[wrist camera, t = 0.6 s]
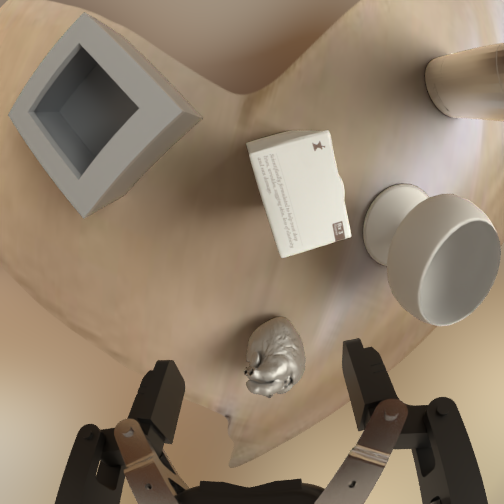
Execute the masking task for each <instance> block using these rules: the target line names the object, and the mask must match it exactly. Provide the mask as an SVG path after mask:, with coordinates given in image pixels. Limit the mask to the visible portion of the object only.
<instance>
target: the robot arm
mask: <svg viewBox="0 0 504 504" xmlns="http://www.w3.org/2000/svg"><path fill="white" fill-rule="evenodd" d="M425 82H426V87H427V90H428V93H429V95H430V97H431V99H432V101H433V103H434V104H435V106H436V107H437V108H438V109H439V110H440V111H441V112H442V113H444V114H445V115H447V116H449V117H453V118H470V119H483V120H494V121H504V43H500V44H494V45H489V46H483V47H479V48H474V49H470V50H465V51H461V52H457V53H453V54H449V55H445V56H441V57H438V58H435V59H433V60H431V61H430V62H429V63H428V65H427V68H426V72H425ZM342 368H343V374H344V378H345V382H346V385H347V389H348V393H349V397H350V401H351V404H352V408H353V412H354V416H355V420H356V424H357V428H358V431H362V430H364V431H363V433H362V435H361V437H360V439H359V440H358V442H357V444H356V446H355V447H354V448H353V449H352V450H351V451H350V453H349V454H348V456H347V457H346V459H345V460H344V462H343V464H342V465H341V467H340V468H339V470H338V471H337V473H336V474H335V476H334V477H333V479H332V480H331V481H330V483H329V484H328V486H327V487H326V488H325V489H324V488H322V487H319V486H316V485H312V484H306V483H302V481H301V479H293V480H283V481H274V482H271V483H267V484H263V485H259V486H255V487H250V488H248V487H242V486H238V485H233V484H229V483H225V482H210V481H200V486H197V487H193V488H189V487H188V486H187V484H186V483H185V482H184V481H183V480H182V479H181V478H180V476H179V475H178V473H177V471H176V470H175V468H174V466H173V465H172V463H171V462H170V460H169V458H168V456H167V454H166V453H165V451H164V450H163V445H164V443H167V444H172V443H173V438H174V434H175V430H176V425H177V421H178V416H179V413H180V409H181V404H182V400H183V396H184V392H185V382H184V379H183V377H182V375H181V374H180V372H179V370H178V368H177V366H176V364H175V362H174V361H173V360H158V361H157V362H156V364H155V367H154V370H150V371H149V372H148V373H147V374H146V375H145V376H144V377H143V379H142V382H141V384H140V388H139V390H138V394H137V395H136V397H135V400H134V403H133V406H132V408H131V411H130V413H129V416H128V418H127V419H124V420H122V421H120V422H119V423H118V424H117V425H116V427H115V428H110V429H103V430H100V429H99V428H98V427H97V426H96V425H94V424H87V425H85V426H83V427H82V428H81V429H80V430H79V432H78V434H77V437H76V439H75V442H74V445H73V448H72V450H71V453H70V456H69V459H68V462H67V465H66V468H65V471H64V474H63V477H62V480H61V484H60V487H59V491H58V494H57V497H56V501H55V504H119V503H120V498H121V493H122V488H123V483H124V479H125V477H126V479H127V481H128V483H129V486H130V488H131V490H132V492H133V494H134V496H135V498H136V500H137V502H138V504H364V502H365V501H366V499H367V498H368V496H369V494H370V492H371V491H372V489H373V487H374V486H375V484H376V482H377V480H378V479H379V477H380V475H381V473H382V471H383V469H384V468H385V465H386V463H387V462H388V459H389V457H390V454H391V452H392V450H393V449H412V453H413V458H414V462H415V466H416V470H417V476H418V480H419V486H420V491H421V496H422V502H423V504H488V502H487V497H486V493H485V489H484V485H483V481H482V477H481V474H480V471H479V467H478V464H477V460H476V457H475V454H474V451H473V448H472V445H471V442H470V439H469V437H468V434H467V431H466V428H465V426H464V423H463V421H462V418H461V416H460V413H459V411H458V408H457V406H456V404H455V403H454V401H453V400H451V399H449V398H446V397H439V398H436V399H434V400H433V401H431V402H430V404H429V405H421V406H411V405H407V404H405V403H403V402H402V401H400V400H399V398H398V397H397V395H396V393H395V390H394V388H393V385H392V383H391V380H390V378H389V375H388V373H387V371H386V368H385V366H384V364H383V361H382V359H381V356H380V354H379V353H378V352H377V351H376V350H375V349H374V348H372V347H368V348H363V345H362V343H361V340H360V339H359V338H357V339H352V340H348V341H343V355H342ZM100 460H101V461H100ZM99 461H100V465H99V468H98V464H99ZM97 468H98V472H97ZM96 472H97V475H96Z"/></svg>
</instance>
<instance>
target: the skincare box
mask: <svg viewBox="0 0 504 504" xmlns="http://www.w3.org/2000/svg"><path fill="white" fill-rule="evenodd" d="M246 146H247V149H248V152H249V157H250V161H251V165H252V168H253V172H254V175H255V179H256V182H257V186H258V189H259V192H260V196H261V199H262V202H263V205H264V208H265V211H266V214H267V218H268V221H269V224H270V227H271V230H272V233H273V237H274V240H275V243H276V246H277V249H278V252H279V254H280V257H281V258H285V257H288V256H292V255H295V254H298V253H302V252H305V251H308V250H311V249H314V248H318V247H321V246H324V245H327V244H330V243H333V242H336V241H340V240H343V239H347V238H350V237H351V236H352V235H351V230H350V225H349V220H348V216H347V211H346V205H345V200H344V196H345V190H344V185H343V181H342V179H341V177H340V176H339V173H338V169H337V164H336V160H335V156H334V151H333V145H332V139H331V134H330V132H329V131H328V130H324V131H313V130H290V131H286V132H283V133H279V134H275V135H271V136H268V137H264V138H261V139H257V140H254V141H251V142H247V143H246Z"/></svg>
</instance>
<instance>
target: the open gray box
mask: <svg viewBox="0 0 504 504" xmlns="http://www.w3.org/2000/svg"><path fill="white" fill-rule="evenodd" d="M8 116H9V117H10V119H11V120H12V122H13V124H14V125H15V127H16V128H17V130H18V132H19V133H20V135H21V136H22V138H23V139H24V141H25V142H26V144H27V145H28V147H29V148H30V150H31V151H32V153H33V154H34V155H35V157H36V158H37V160H38V161H39V163H40V164H41V165H42V167H43V168H44V169H45V171H46V172H47V173H48V175H49V176H50V177H51V179H52V180H53V181H54V183H55V184H56V185H57V187H58V188H59V189H60V190H61V192H62V193H63V194H64V196H65V197H66V198H67V199H68V201H69V202H70V203H71V204H72V205H73V207H74V208H75V209H76V210H77V211H78V213H79V214H80V215H81V216H82V217H83V219H84V218H86V217H88V216H89V215H91V214H93V213H94V212H96V211H98V210H99V209H101V208H103V207H105V206H106V205H108V204H110V203H112V202H113V201H115V200H117V199H119V198H121V197H122V196H124V195H125V194H126V193H127V192H128V191H129V189H130V188H131V187H132V186H133V185H134V184H135V183H136V182H137V181H138V180H139V179H140V178H141V177H142V176H143V175H144V174H145V172H146V171H147V170H148V169H149V168H150V167H151V166H152V165H153V164H154V163H155V162H156V161H157V160H158V159H159V158H160V157H161V156H162V155H163V154H164V153H166V152H167V151H168V150H169V149H170V148H171V147H172V146H173V145H174V144H175V143H176V142H177V141H178V140H179V139H180V138H181V137H183V136H184V135H185V134H186V133H187V132H188V131H189V130H190V129H191V128H193V127H194V126H195V125H196V124H197V123H198V122H199V121H201V120H202V119H203V118H202V117H201V116H200V114H199V113H198V112H197V111H196V110H195V109H194V108H193V107H192V106H191V105H190V104H189V103H188V101H187V100H186V99H185V98H184V97H183V96H182V95H181V94H180V93H179V92H178V91H177V90H176V89H175V88H174V87H173V86H172V85H171V83H170V82H169V81H168V80H167V79H166V78H165V77H164V76H163V75H162V74H161V73H160V72H159V71H158V70H157V69H156V68H155V67H154V66H153V65H152V64H151V63H150V62H149V61H148V60H147V59H146V58H145V57H144V56H143V55H142V54H141V53H140V52H139V51H138V50H137V49H136V48H135V47H134V46H133V45H132V44H131V43H130V42H129V41H128V40H127V39H126V38H125V37H123V36H122V35H121V34H119V33H118V32H116V31H115V30H113V29H111V28H110V27H108V26H107V25H105V24H103V23H102V22H100V21H99V20H97V19H95V18H94V17H92V16H90V15H88V14H87V13H85V12H84V13H83V14H82V15H81V16H80V17H79V18H78V19H77V20H76V21H75V22H74V23H73V24H72V26H71V27H70V28H69V29H68V30H67V31H66V32H65V33H64V35H63V36H62V37H61V38H60V39H59V40H58V42H57V43H56V44H55V45H54V46H53V48H52V49H51V50H50V52H49V53H48V54H47V55H46V57H45V58H44V59H43V61H42V62H41V63H40V65H39V66H38V68H37V69H36V70H35V72H34V73H33V75H32V76H31V78H30V79H29V81H28V82H27V84H26V85H25V87H24V89H23V90H22V92H21V93H20V95H19V97H18V98H17V100H16V102H15V104H14V105H13V107H12V109H11V111H10V112H9V114H8Z"/></svg>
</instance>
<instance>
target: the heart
mask: <svg viewBox="0 0 504 504" xmlns="http://www.w3.org/2000/svg"><path fill="white" fill-rule="evenodd" d="M246 360H247V362H250V363H249V365H250V366H249V367H248V368H247V367H246V368H245V370H244V375H246V376H248V378H249V379H250V380H248V381H247V382H246V386H247V388H248V390H249V391H250V392H251V393H254V394H259V395H263V396H267V397H268V398H271V397H272V396H273V394H275V393H278V394H283V393H286V392H287V391H289V390H290V389H291V388H292V387H293V385H295V384H296V383H298V381H299V380H300V379H301V377H302V375H303V373H304V370H305V361H306V360H305V352H304V347H303V344H302V341H301V338H300V335H299V334H298V332H297V331H296V329H295V328H294V326H293V324H292V323H291V322H290V320H288V319H286V318H284V317H277V318H273V319H271V320H269V321H267V322H265V323H264V324H262V325H261V326H259V327H258V328H257V329H256V330H255V331H254V332H253V333H252V335H251V337H250V339H249V342H248V350H247V353H246Z"/></svg>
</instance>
